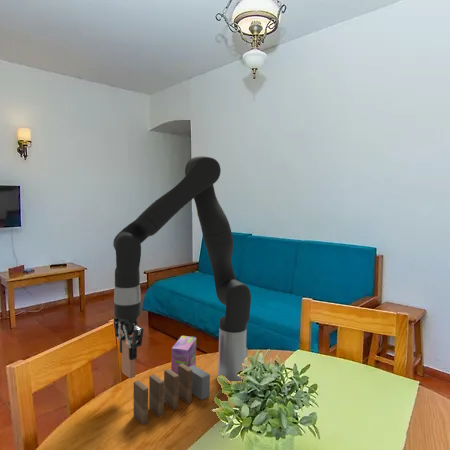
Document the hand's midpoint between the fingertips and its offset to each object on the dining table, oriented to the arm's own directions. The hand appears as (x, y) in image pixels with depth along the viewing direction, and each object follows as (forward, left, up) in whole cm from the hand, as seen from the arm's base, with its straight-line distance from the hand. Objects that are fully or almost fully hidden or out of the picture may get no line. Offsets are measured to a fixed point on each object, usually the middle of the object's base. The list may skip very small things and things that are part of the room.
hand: (128, 355), depth 106 cm
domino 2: (-3, +11, -14) cm, 18 cm away
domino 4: (-13, +11, -14) cm, 22 cm away
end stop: (-18, +11, -14) cm, 25 cm away
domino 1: (+2, +11, -14) cm, 18 cm away
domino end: (0, 0, -6) cm, 6 cm away
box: (-21, 0, -14) cm, 25 cm away
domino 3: (-8, +11, -14) cm, 19 cm away
